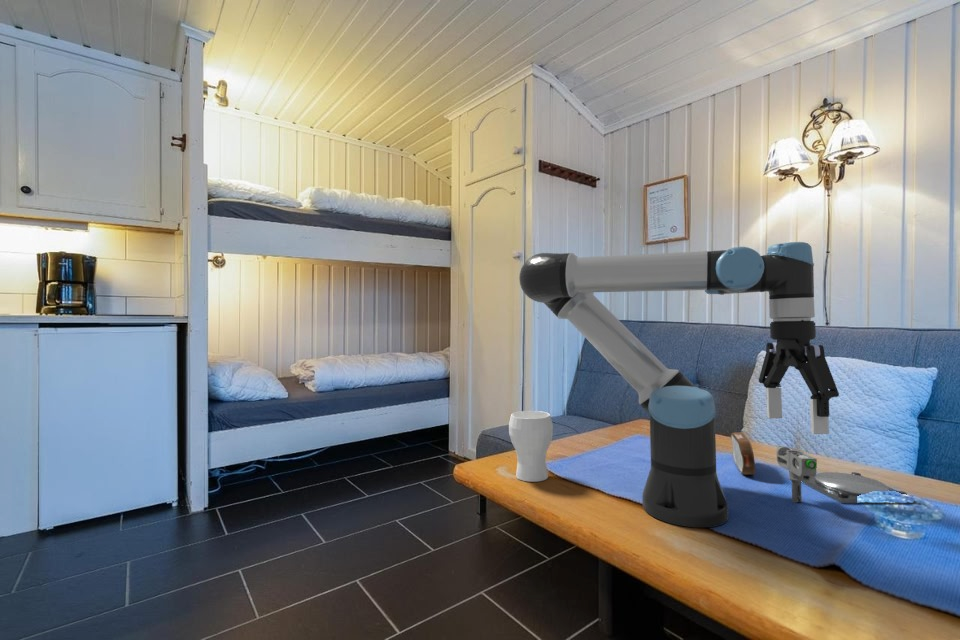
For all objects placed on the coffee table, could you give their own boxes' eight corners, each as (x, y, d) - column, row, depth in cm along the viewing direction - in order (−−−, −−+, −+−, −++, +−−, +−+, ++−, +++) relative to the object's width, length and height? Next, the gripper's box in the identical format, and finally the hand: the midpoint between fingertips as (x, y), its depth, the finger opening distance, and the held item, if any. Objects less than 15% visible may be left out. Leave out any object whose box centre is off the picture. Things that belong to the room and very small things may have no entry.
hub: (841, 503, 88) (841, 494, 88) (794, 478, 102) (794, 471, 102) (915, 503, 88) (914, 494, 88) (857, 478, 101) (857, 470, 102)
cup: (560, 473, 109) (559, 412, 109) (543, 487, 100) (541, 420, 100) (522, 466, 115) (521, 408, 115) (502, 479, 106) (500, 416, 106)
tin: (756, 480, 102) (755, 443, 102) (741, 479, 103) (740, 442, 103) (743, 461, 116) (742, 428, 116) (730, 460, 117) (729, 428, 117)
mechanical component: (789, 492, 94) (788, 445, 94) (821, 512, 84) (820, 459, 84) (774, 492, 95) (773, 445, 95) (805, 512, 85) (803, 459, 85)
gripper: (861, 318, 77) (866, 441, 77) (772, 320, 102) (776, 412, 102) (817, 319, 77) (821, 441, 77) (739, 321, 102) (742, 413, 102)
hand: (795, 425), depth 90 cm, fingers open, 13 cm apart
